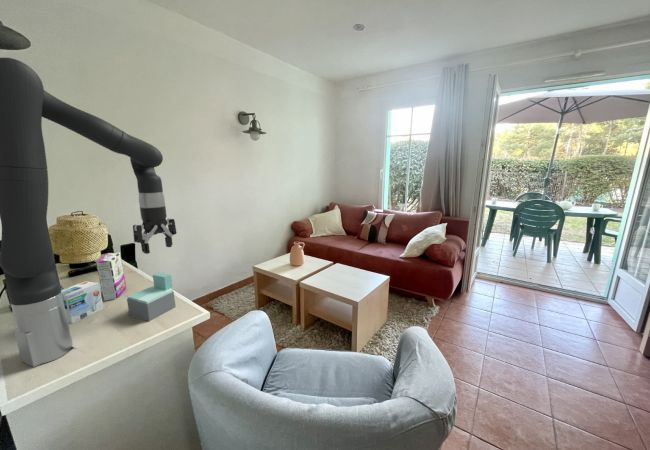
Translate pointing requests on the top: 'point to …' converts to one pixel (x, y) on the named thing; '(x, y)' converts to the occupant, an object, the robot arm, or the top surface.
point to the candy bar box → (111, 276)
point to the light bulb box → (82, 300)
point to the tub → (151, 307)
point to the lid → (154, 289)
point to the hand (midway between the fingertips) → (158, 250)
